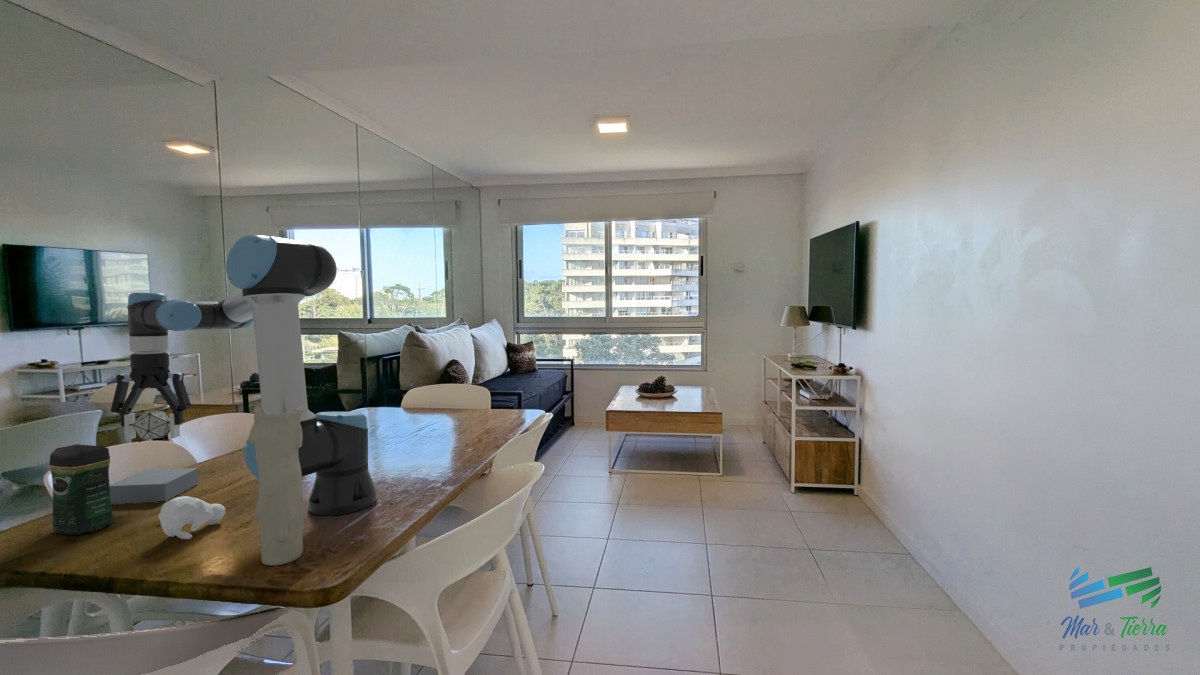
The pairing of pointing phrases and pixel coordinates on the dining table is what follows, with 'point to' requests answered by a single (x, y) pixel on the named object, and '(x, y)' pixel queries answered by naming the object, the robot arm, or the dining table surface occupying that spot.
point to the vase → (279, 484)
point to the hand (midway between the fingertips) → (153, 437)
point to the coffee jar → (80, 488)
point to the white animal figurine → (188, 515)
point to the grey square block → (153, 485)
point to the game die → (152, 425)
